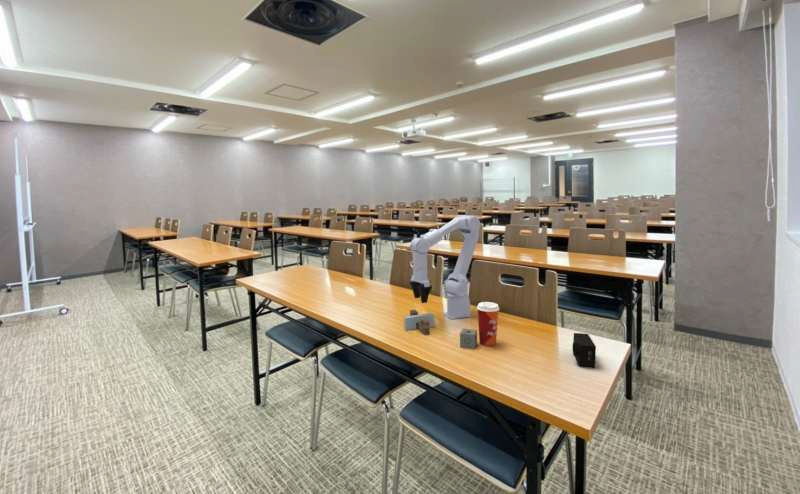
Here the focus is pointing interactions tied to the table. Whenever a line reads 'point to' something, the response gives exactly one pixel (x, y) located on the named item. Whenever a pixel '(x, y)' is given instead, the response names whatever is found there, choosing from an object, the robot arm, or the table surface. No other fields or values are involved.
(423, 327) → the walnut u-shaped block
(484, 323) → the paper cup
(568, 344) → the table surface
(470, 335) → the gray cube with hole
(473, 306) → the table surface
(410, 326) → the pale blue-gray block
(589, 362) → the digital camera
